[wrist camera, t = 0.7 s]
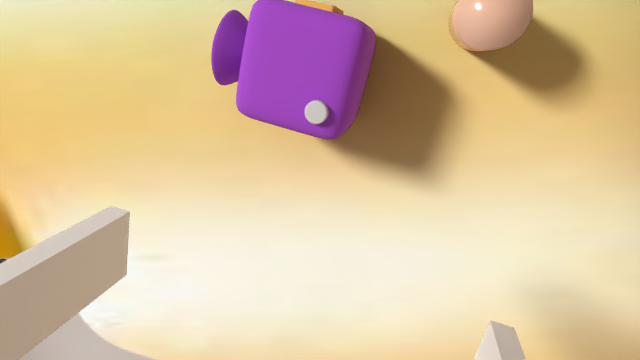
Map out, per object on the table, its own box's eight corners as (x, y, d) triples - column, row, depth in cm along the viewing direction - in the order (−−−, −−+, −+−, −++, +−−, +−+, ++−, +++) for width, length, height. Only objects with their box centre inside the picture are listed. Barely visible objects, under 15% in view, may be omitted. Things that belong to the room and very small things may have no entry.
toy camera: (237, 3, 39) (183, -14, 30) (380, 7, 37) (369, -10, 27) (239, 116, 42) (190, 132, 33) (370, 126, 40) (358, 147, 30)
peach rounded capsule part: (446, -4, 35) (454, -18, 29) (508, -17, 34) (531, -35, 27) (451, 56, 36) (459, 55, 30) (511, 45, 35) (534, 42, 29)
